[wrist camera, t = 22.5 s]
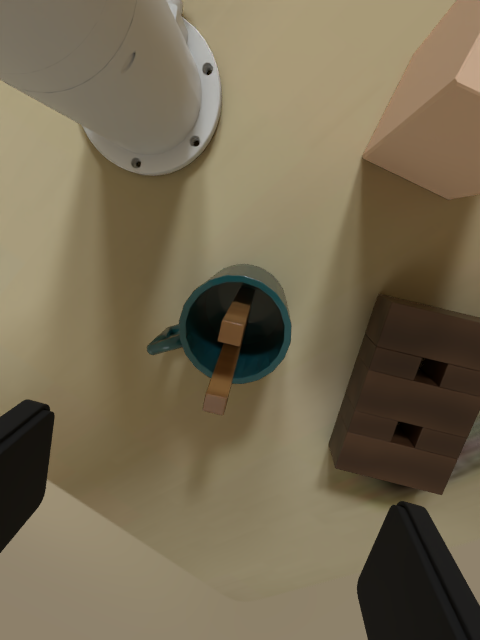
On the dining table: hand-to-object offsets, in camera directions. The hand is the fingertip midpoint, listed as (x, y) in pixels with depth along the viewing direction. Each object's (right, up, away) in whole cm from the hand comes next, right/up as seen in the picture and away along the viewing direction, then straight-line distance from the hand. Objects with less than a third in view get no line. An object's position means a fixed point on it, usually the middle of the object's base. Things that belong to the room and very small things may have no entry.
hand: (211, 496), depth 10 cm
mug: (-1, +6, +26) cm, 26 cm away
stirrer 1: (+1, +7, +24) cm, 25 cm away
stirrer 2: (+1, +5, +25) cm, 25 cm away
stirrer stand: (+17, -2, +26) cm, 31 cm away
